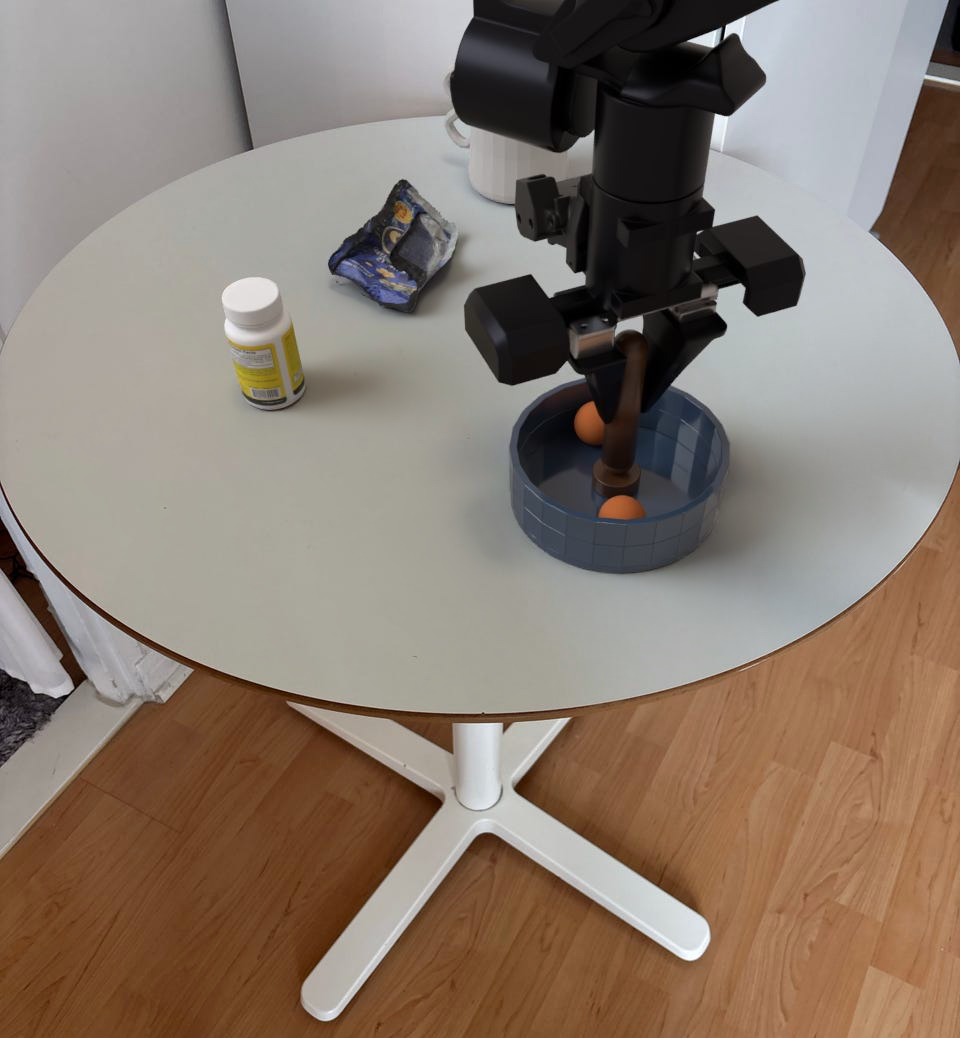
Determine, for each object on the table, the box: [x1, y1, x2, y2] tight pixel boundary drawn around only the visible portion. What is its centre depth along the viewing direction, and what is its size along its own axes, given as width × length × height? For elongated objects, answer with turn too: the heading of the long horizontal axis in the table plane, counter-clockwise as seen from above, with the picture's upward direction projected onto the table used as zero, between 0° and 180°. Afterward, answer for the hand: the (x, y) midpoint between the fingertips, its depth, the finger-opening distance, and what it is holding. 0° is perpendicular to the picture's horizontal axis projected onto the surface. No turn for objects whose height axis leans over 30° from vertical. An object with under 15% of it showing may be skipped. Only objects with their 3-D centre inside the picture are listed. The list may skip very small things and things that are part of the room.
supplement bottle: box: [221, 276, 306, 411], centre depth 73 cm, size 5×5×8 cm
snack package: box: [327, 178, 459, 314], centre depth 84 cm, size 12×6×12 cm
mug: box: [441, 62, 569, 205], centre depth 90 cm, size 12×9×10 cm
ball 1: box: [574, 401, 604, 445], centre depth 70 cm, size 3×3×3 cm
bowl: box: [508, 377, 731, 574], centre depth 67 cm, size 14×14×4 cm
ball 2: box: [598, 495, 646, 519], centre depth 65 cm, size 3×3×3 cm
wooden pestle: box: [592, 328, 648, 499], centre depth 64 cm, size 3×3×12 cm
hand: (623, 414), depth 64 cm, fingers closed on wooden pestle, 2 cm apart
